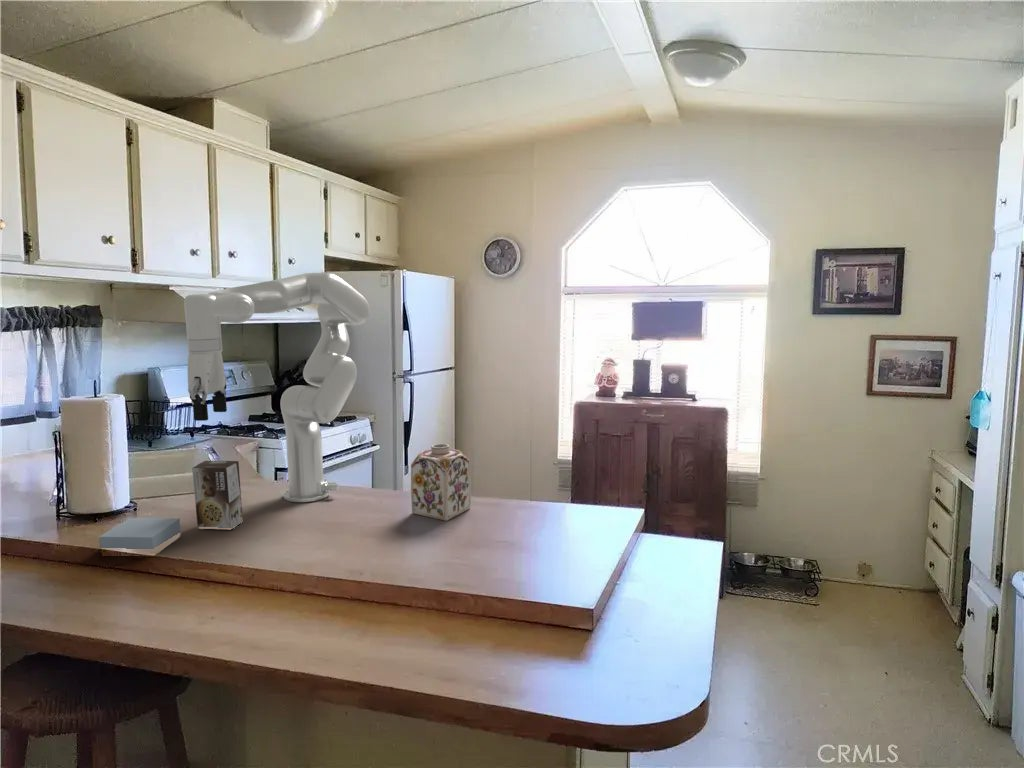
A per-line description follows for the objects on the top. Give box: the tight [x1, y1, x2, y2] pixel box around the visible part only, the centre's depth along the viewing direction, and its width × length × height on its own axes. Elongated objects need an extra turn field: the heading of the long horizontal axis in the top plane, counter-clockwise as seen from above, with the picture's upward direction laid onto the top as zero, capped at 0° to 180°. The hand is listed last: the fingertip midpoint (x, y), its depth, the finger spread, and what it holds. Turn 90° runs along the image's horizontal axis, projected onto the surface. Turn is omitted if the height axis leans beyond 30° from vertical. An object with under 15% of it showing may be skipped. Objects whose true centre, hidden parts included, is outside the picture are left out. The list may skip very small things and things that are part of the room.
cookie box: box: [191, 460, 244, 528], centre depth 171 cm, size 9×6×16 cm
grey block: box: [98, 517, 182, 549], centre depth 159 cm, size 12×12×5 cm
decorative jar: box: [410, 443, 472, 522], centre depth 181 cm, size 12×12×18 cm
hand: (211, 415), depth 168 cm, fingers open, 9 cm apart
